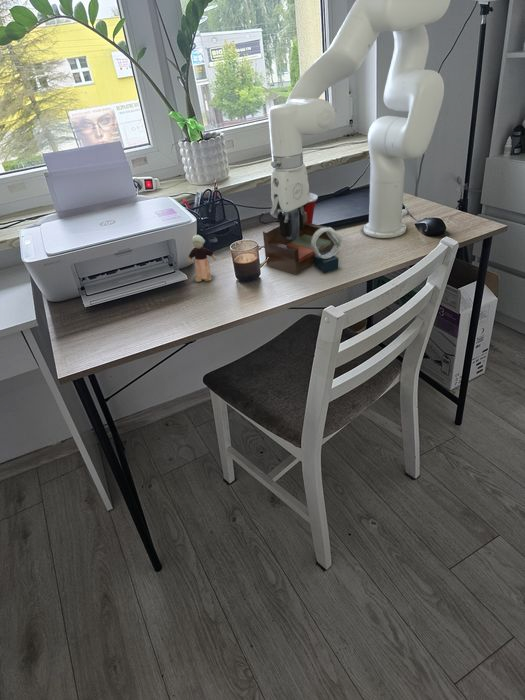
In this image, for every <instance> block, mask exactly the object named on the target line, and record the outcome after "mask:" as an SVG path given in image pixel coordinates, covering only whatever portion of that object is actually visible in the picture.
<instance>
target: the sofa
mask: <svg viewBox="0 0 525 700" xmlns="http://www.w3.org/2000/svg"><path fill="white" fill-rule="evenodd" d="M302 216H303V230H302V231H301V230H300V238H298V239H295V240H287V239H285V238H284V236H282V235H281V234H280V222H279V223H277V224H276V225H273V226H272V227H269V228H267V229H266V230H263V231H262V235H263V246H264V254H265V260H266V259H267V257H269V259H268V261H267V262H266V261H265V265H266V266H267V267H270V268H273V269H276V270H280V271H282V272H285V273H288V274H291V275H295V276H297V275H299V274H301V273H302V272H304V271H306V270H308V269H309V268H310V267H312V266H314V255H316V254H315V253H314V251H313V250H312V248H311V239H312V237H313V234H315V232H316V231H317V230H318V229H320V228H322V227H327V228H329V227H330V226H325V225H320V224H315V223H313V222H312V223H308V222H307V212H304V215H302ZM331 228H332V229H334V230H335V228H334V227H331ZM315 243H316V247H317V248H318V251H319V252H320V253H324V252H327V251H328V252H330V251H331V249H332V248H333V246H334V243H333V241H332V240H331V239H330V238H329V237H328V235H327V234H326V232H324V233H322V234H321V235H320V236H319V237H318V238H317V240H316V242H315Z"/></svg>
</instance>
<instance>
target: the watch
mask: <svg viewBox="0 0 525 700" xmlns="http://www.w3.org/2000/svg"><path fill="white" fill-rule="evenodd" d="M327 227H329V228H327ZM332 228H333V227H330V226H325V227H322V228H320V229H318V230H317V231H316V232H315V234H313V237H312V239H311V248H312V250H313V251H314V253H315V254H316V255H314V265H313V266H314V267H315V268H316V269H318V270H319V271H320V272H322V273H323V274H327V273H331V272H334V271H337V270H339V257H337V256H335V255H336V254H337V253H338V252H339V250H340V247H341V245H342V243H341V242H342V241H343V240H342V238H341V236H340V235H339V234H338V232H337V231H336V230H335V228H334V229H332ZM324 232H326V234H327V235H328V237H329V238H330V239H331V240H332V241H333V243H334V246H333V248H332V249H331V251H330V252H328V251H327V252H324V253H320V252H319V251H318V248H317V247H316V243H315V242H316V240H317V238H318V237H319V236H320V235H321V234H322V233H324Z"/></svg>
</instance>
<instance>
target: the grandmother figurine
mask: <svg viewBox="0 0 525 700" xmlns="http://www.w3.org/2000/svg"><path fill="white" fill-rule="evenodd" d="M191 243H192V245H193V248H192V249H191V251H190V252H189V253H188V259H187V262H188V263H189V264H190V263H192V260H193V258H194V267H195V274H196V277H195V283H199V282H202V281H203V280H204V281H205V282H209V281H212V276H211V275H212V274H211V267H210V262H209V258H208V257H211V258H212V259H211V260H213V261H215V260H217V257H216V256H215V253H214V251H213V250H211V249H209V248H207V247H204V244H205V243H206V240H205V239H204V238H203V236H201V235H199V234H195V235H193V236H192V238H191Z"/></svg>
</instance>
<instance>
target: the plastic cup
mask: <svg viewBox="0 0 525 700" xmlns="http://www.w3.org/2000/svg"><path fill="white" fill-rule="evenodd" d="M318 198H319V196H318V195H317V194H316V193H313V192H309V201H308V203H307V204H306V207H305V209H304V212H307V222H308V223H312V224H313V220H314V212H315V206H316V202H317V200H318Z"/></svg>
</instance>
